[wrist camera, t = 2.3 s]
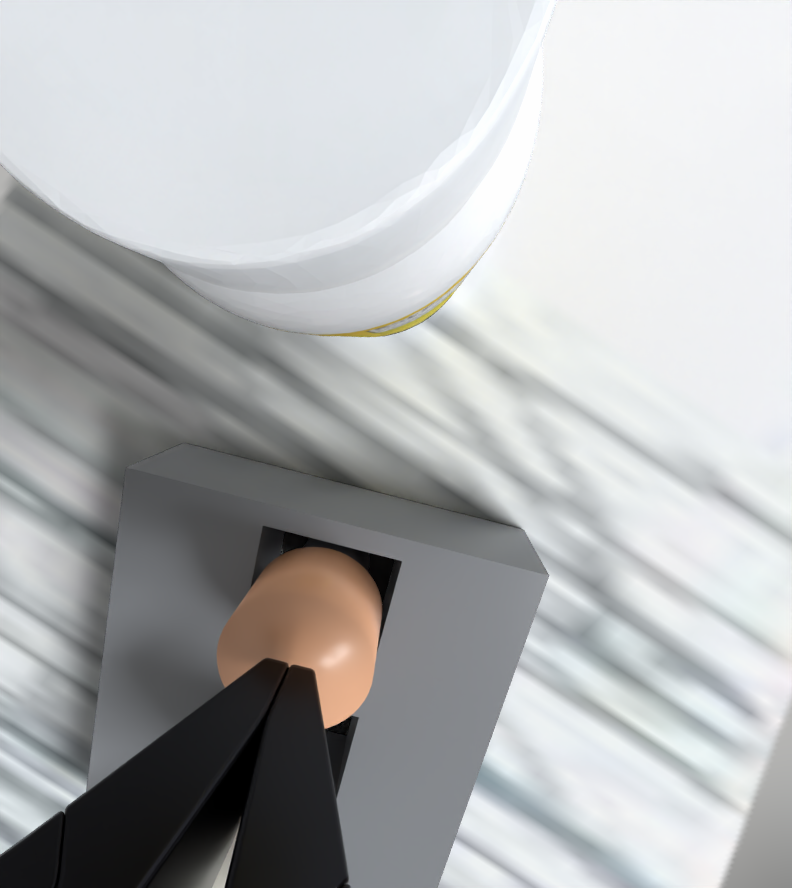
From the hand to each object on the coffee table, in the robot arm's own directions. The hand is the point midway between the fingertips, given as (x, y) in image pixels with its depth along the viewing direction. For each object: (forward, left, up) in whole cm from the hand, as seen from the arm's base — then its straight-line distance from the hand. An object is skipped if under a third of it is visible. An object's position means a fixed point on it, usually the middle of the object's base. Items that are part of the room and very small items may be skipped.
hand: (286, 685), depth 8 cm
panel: (-4, 0, -5) cm, 6 cm away
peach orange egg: (0, 0, -4) cm, 4 cm away
